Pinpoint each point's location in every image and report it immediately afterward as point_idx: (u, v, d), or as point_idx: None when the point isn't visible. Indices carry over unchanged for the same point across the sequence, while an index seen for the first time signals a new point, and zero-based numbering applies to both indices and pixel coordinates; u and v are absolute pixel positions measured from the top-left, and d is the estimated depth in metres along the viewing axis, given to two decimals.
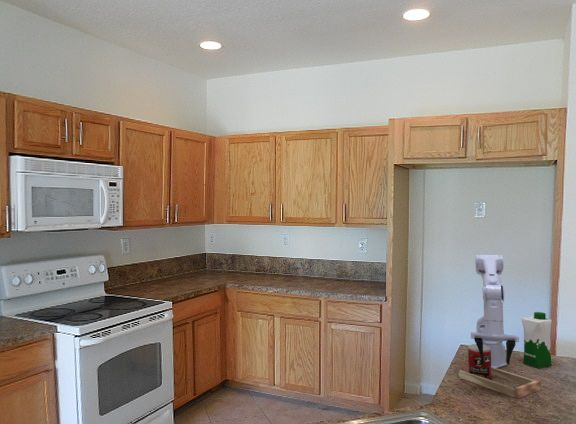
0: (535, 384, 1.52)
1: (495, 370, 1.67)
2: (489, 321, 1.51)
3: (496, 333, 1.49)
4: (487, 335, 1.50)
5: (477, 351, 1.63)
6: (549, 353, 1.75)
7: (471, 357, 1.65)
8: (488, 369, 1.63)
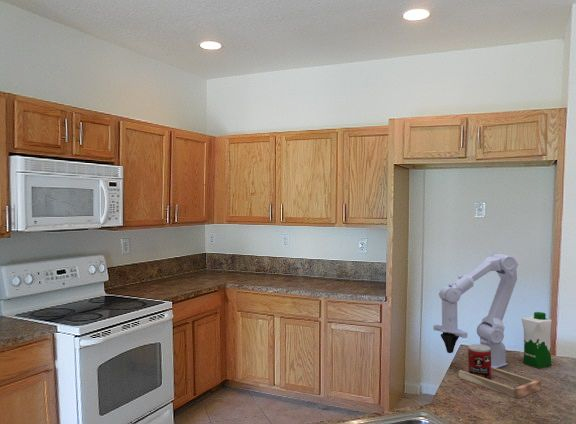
0: (535, 384, 1.52)
1: (495, 370, 1.67)
2: (442, 318, 1.77)
3: (445, 328, 1.75)
4: (441, 329, 1.78)
5: (477, 351, 1.63)
6: (549, 353, 1.75)
7: (471, 357, 1.65)
8: (488, 369, 1.63)
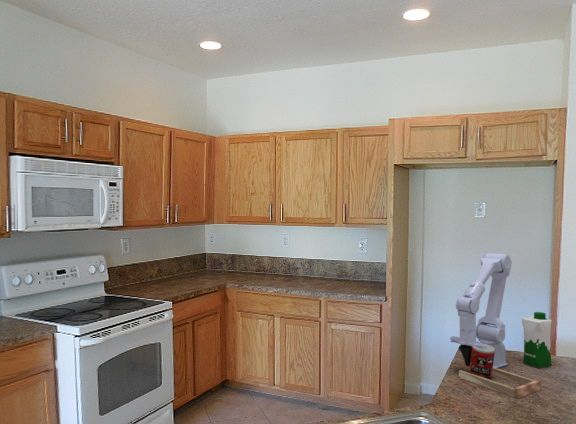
0: (535, 384, 1.52)
1: (495, 370, 1.67)
2: (460, 329, 1.70)
3: (464, 340, 1.68)
4: (458, 341, 1.71)
5: (481, 352, 1.61)
6: (549, 353, 1.75)
7: (474, 356, 1.64)
8: (490, 370, 1.62)
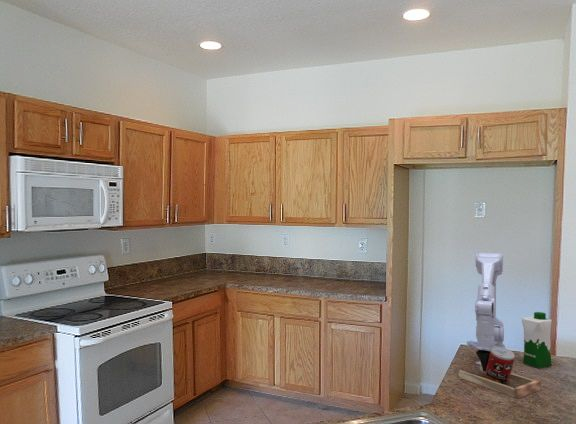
0: (535, 384, 1.52)
1: None
2: (477, 334, 1.64)
3: (482, 345, 1.62)
4: (476, 346, 1.65)
5: (499, 357, 1.55)
6: (549, 353, 1.75)
7: (491, 360, 1.57)
8: (506, 376, 1.56)
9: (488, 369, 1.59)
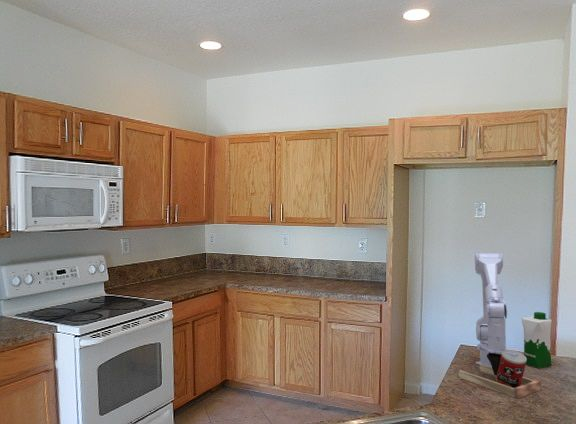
0: (535, 384, 1.52)
1: None
2: (488, 336, 1.60)
3: (493, 348, 1.58)
4: (486, 349, 1.61)
5: (509, 361, 1.51)
6: (549, 353, 1.75)
7: (501, 364, 1.54)
8: (517, 380, 1.52)
9: (499, 372, 1.55)
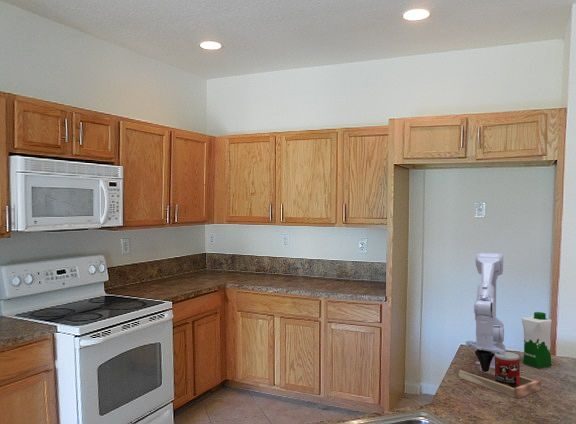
0: (535, 384, 1.52)
1: None
2: (476, 334, 1.64)
3: (481, 345, 1.62)
4: (475, 346, 1.65)
5: (502, 359, 1.54)
6: (549, 353, 1.75)
7: (496, 364, 1.56)
8: (515, 379, 1.53)
9: (496, 375, 1.57)
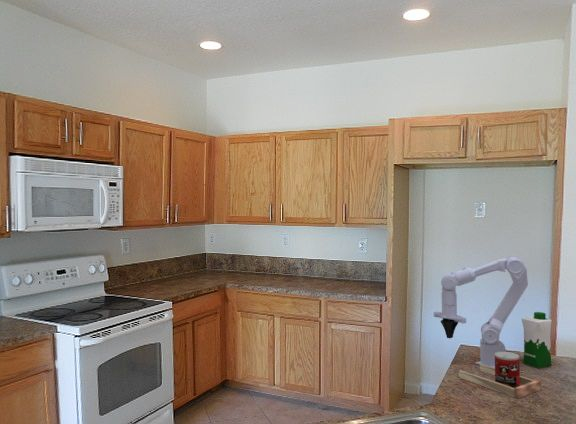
0: (535, 384, 1.52)
1: None
2: (442, 304, 1.85)
3: (445, 314, 1.83)
4: (440, 315, 1.85)
5: (502, 359, 1.54)
6: (549, 353, 1.75)
7: (496, 364, 1.56)
8: (515, 379, 1.53)
9: (496, 375, 1.57)
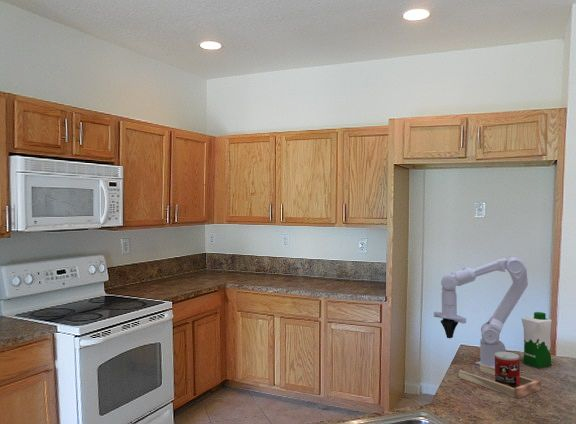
0: (535, 384, 1.52)
1: None
2: (442, 304, 1.85)
3: (445, 314, 1.83)
4: (440, 315, 1.85)
5: (502, 359, 1.54)
6: (549, 353, 1.75)
7: (496, 364, 1.56)
8: (515, 379, 1.53)
9: (496, 375, 1.57)
